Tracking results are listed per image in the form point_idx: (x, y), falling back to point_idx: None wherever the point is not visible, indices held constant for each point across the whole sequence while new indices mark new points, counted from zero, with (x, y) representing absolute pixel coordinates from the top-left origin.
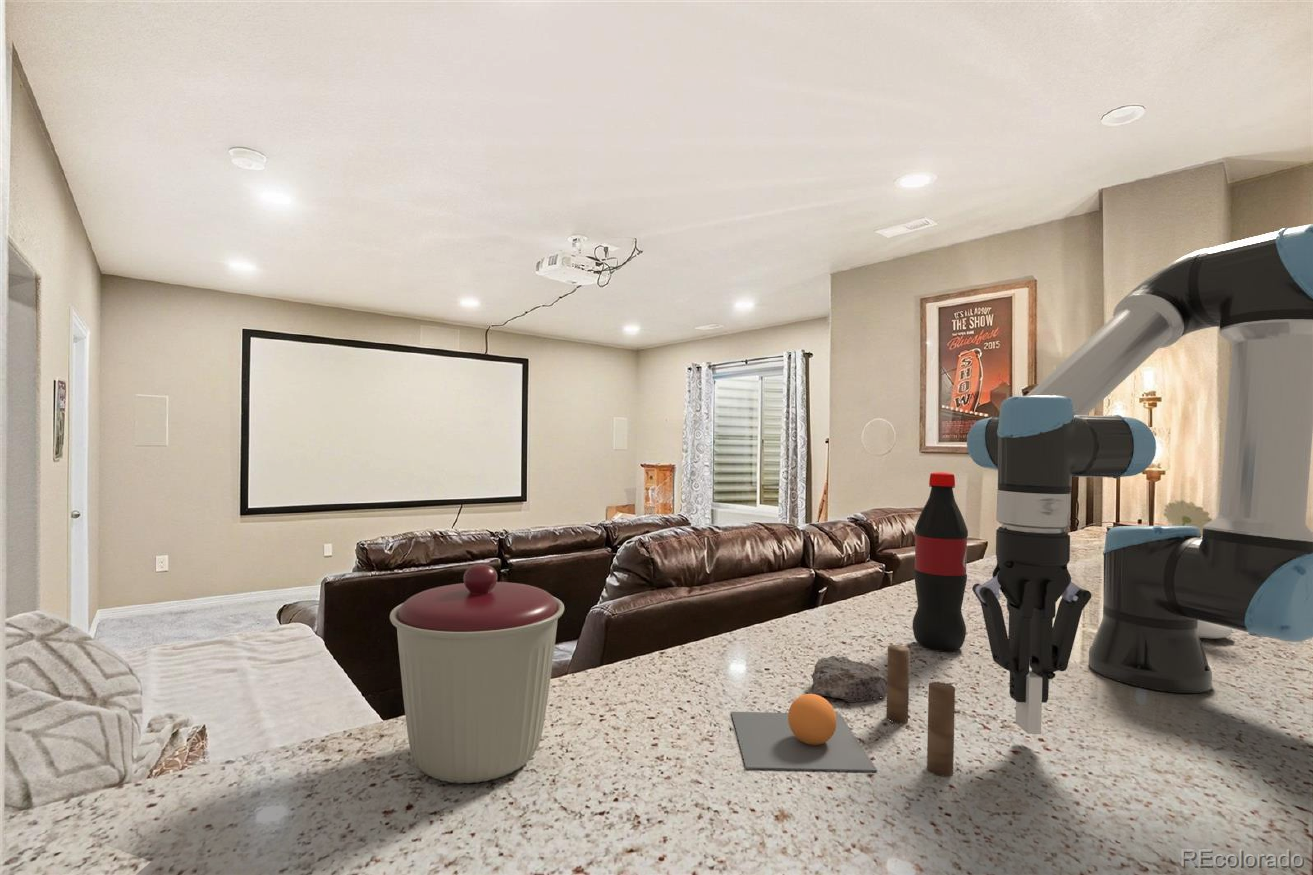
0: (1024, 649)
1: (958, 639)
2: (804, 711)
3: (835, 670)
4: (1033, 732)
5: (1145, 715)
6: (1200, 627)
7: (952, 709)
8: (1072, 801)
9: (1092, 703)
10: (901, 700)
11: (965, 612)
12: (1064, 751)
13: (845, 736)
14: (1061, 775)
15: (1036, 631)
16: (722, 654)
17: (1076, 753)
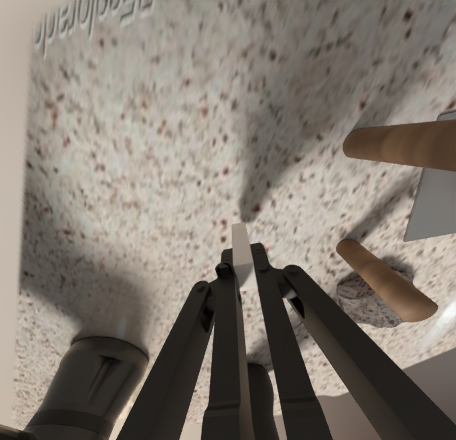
0: (272, 301)
1: None
2: None
3: None
4: (239, 223)
5: (124, 300)
6: None
7: (434, 127)
8: (237, 108)
9: (160, 310)
10: (364, 252)
11: None
12: (209, 221)
13: (430, 192)
14: (228, 169)
15: (242, 355)
16: (451, 329)
17: (199, 220)
